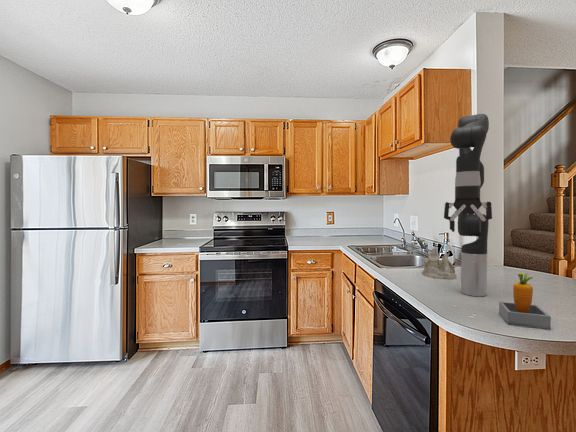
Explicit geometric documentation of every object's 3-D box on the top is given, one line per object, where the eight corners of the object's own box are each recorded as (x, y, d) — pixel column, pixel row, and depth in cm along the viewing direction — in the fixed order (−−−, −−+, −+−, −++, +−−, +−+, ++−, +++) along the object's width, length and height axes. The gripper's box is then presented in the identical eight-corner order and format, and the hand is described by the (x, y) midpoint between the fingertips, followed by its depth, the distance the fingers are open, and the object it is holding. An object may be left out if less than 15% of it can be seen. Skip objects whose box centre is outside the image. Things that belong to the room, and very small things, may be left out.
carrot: (523, 315, 100) (524, 270, 99) (536, 321, 95) (537, 273, 94) (508, 315, 100) (509, 270, 99) (520, 321, 95) (521, 274, 94)
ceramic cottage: (456, 280, 147) (455, 249, 147) (420, 277, 155) (419, 248, 156) (457, 275, 160) (456, 247, 161) (423, 273, 169) (422, 246, 169)
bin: (499, 312, 104) (499, 301, 104) (537, 317, 100) (537, 305, 100) (507, 324, 94) (508, 311, 94) (550, 329, 90) (550, 316, 90)
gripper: (489, 185, 105) (488, 231, 106) (443, 186, 111) (443, 230, 111) (494, 183, 98) (493, 233, 99) (445, 185, 104) (444, 232, 105)
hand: (466, 231), depth 105 cm, fingers open, 8 cm apart
